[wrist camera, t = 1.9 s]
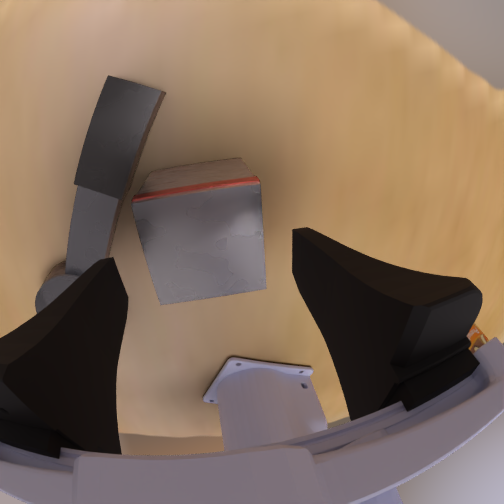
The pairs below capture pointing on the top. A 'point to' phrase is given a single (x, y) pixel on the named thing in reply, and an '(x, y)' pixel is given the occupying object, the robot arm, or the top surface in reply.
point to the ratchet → (103, 178)
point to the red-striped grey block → (202, 230)
